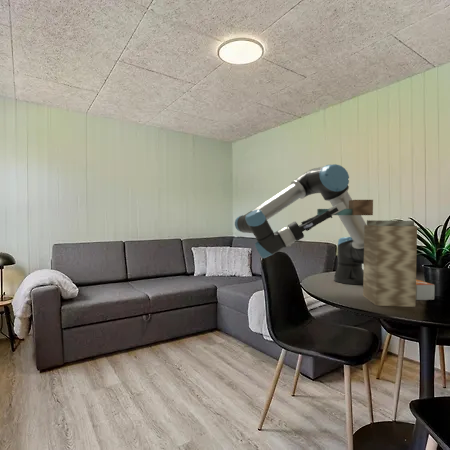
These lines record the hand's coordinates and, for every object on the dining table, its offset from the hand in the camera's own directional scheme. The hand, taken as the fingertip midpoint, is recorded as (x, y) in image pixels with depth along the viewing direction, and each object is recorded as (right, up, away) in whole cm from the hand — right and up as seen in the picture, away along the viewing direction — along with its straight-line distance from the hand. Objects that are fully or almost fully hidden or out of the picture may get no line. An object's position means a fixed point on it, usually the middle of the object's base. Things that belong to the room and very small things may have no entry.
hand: (343, 205), depth 121 cm
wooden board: (+17, -38, -1) cm, 42 cm away
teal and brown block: (0, -4, 0) cm, 4 cm away
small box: (+32, -35, +14) cm, 49 cm away
